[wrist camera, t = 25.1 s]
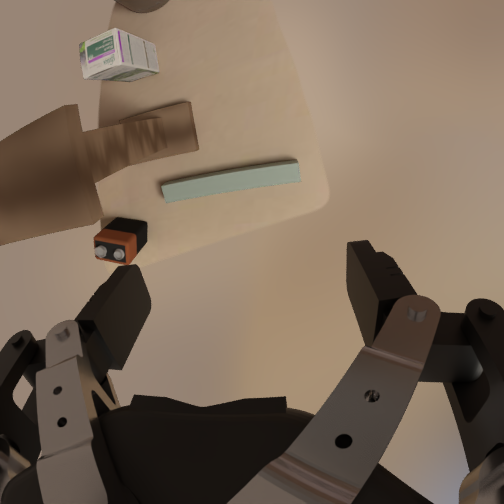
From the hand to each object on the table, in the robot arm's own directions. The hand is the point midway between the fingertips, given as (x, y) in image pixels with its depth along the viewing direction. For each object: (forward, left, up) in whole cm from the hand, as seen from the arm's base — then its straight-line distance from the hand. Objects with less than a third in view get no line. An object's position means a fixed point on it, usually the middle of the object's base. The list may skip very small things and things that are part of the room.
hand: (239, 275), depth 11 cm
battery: (+11, -26, -38) cm, 48 cm away
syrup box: (-18, -17, -38) cm, 46 cm away
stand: (-5, -16, -38) cm, 42 cm away
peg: (+5, -6, -38) cm, 39 cm away
